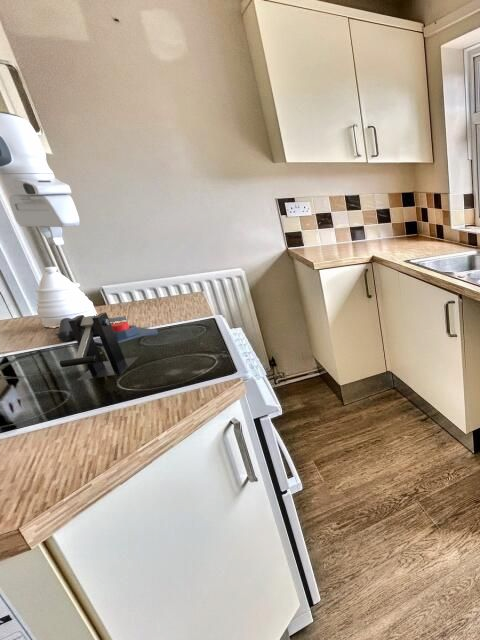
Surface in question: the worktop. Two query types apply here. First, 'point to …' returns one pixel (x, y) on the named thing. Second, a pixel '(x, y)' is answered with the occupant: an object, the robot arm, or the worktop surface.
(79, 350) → the lever
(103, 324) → the bracket
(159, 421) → the worktop surface
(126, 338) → the button box
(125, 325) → the button
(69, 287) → the honey pot
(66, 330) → the door handle
